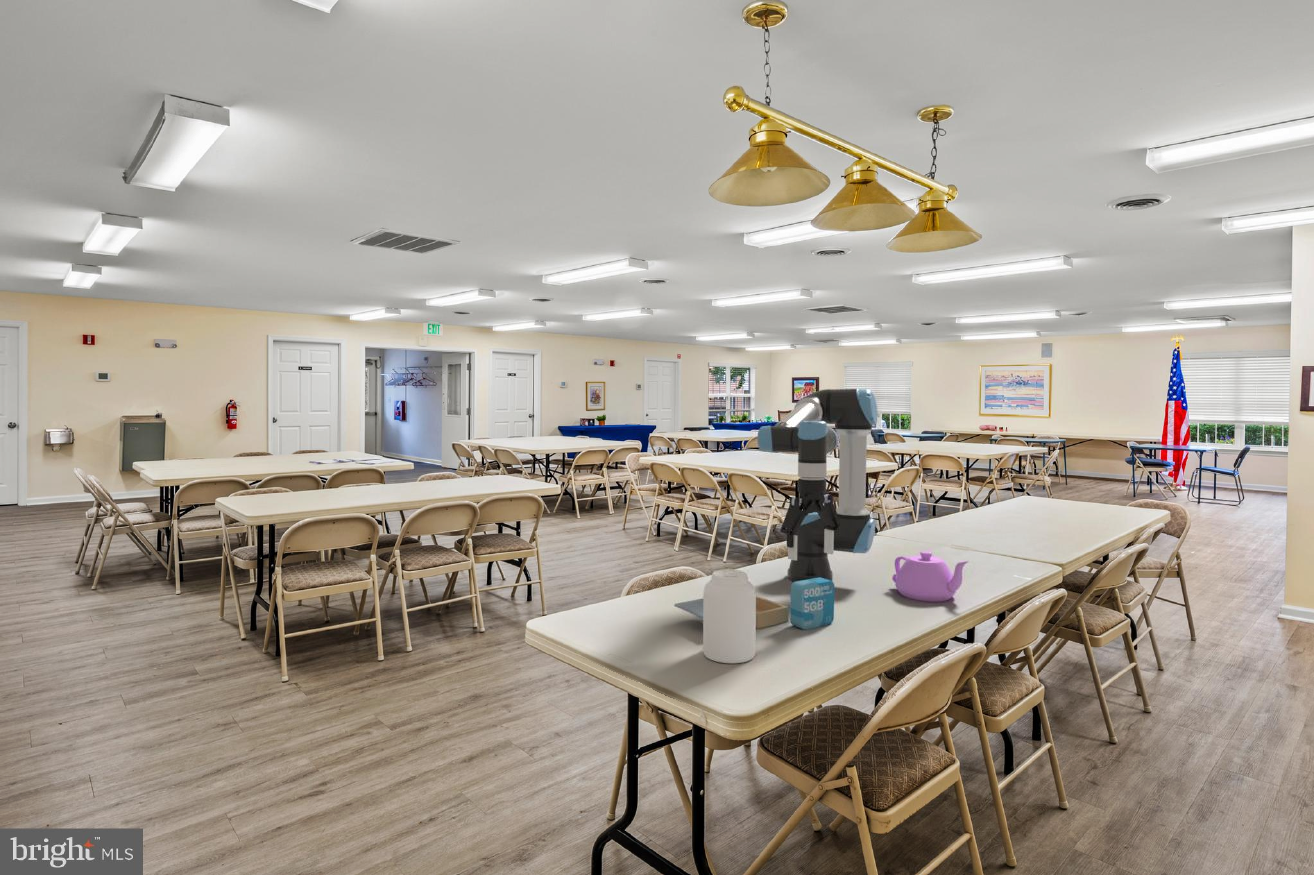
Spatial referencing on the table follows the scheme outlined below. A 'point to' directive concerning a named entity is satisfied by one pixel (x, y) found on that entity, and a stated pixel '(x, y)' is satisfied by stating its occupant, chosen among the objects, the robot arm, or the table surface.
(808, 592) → the data package
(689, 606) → the lid
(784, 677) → the table surface
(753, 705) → the table surface
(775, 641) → the table surface
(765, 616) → the light brown shallow tray
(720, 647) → the white bottle
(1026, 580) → the table surface
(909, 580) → the teapot
